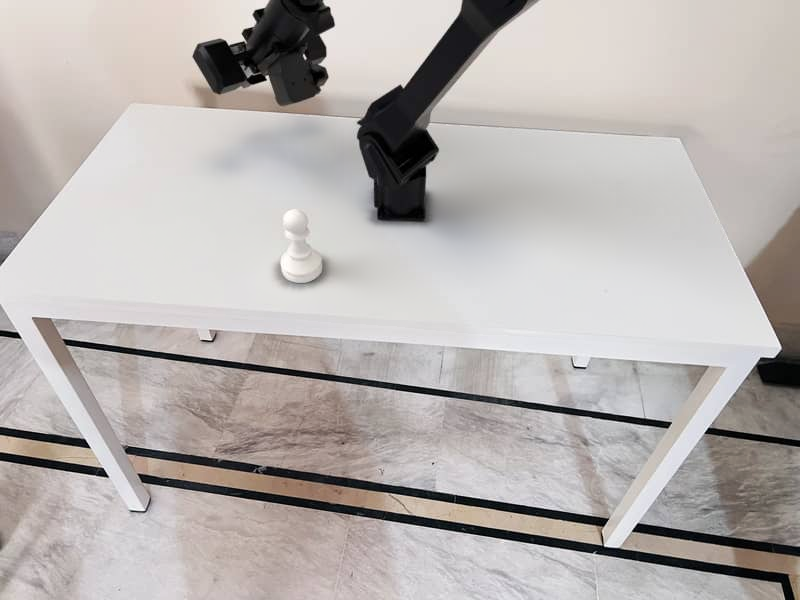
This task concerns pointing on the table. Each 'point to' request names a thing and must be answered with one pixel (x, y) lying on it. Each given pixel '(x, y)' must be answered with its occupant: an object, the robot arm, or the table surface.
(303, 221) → the chess pawn
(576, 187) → the table surface
